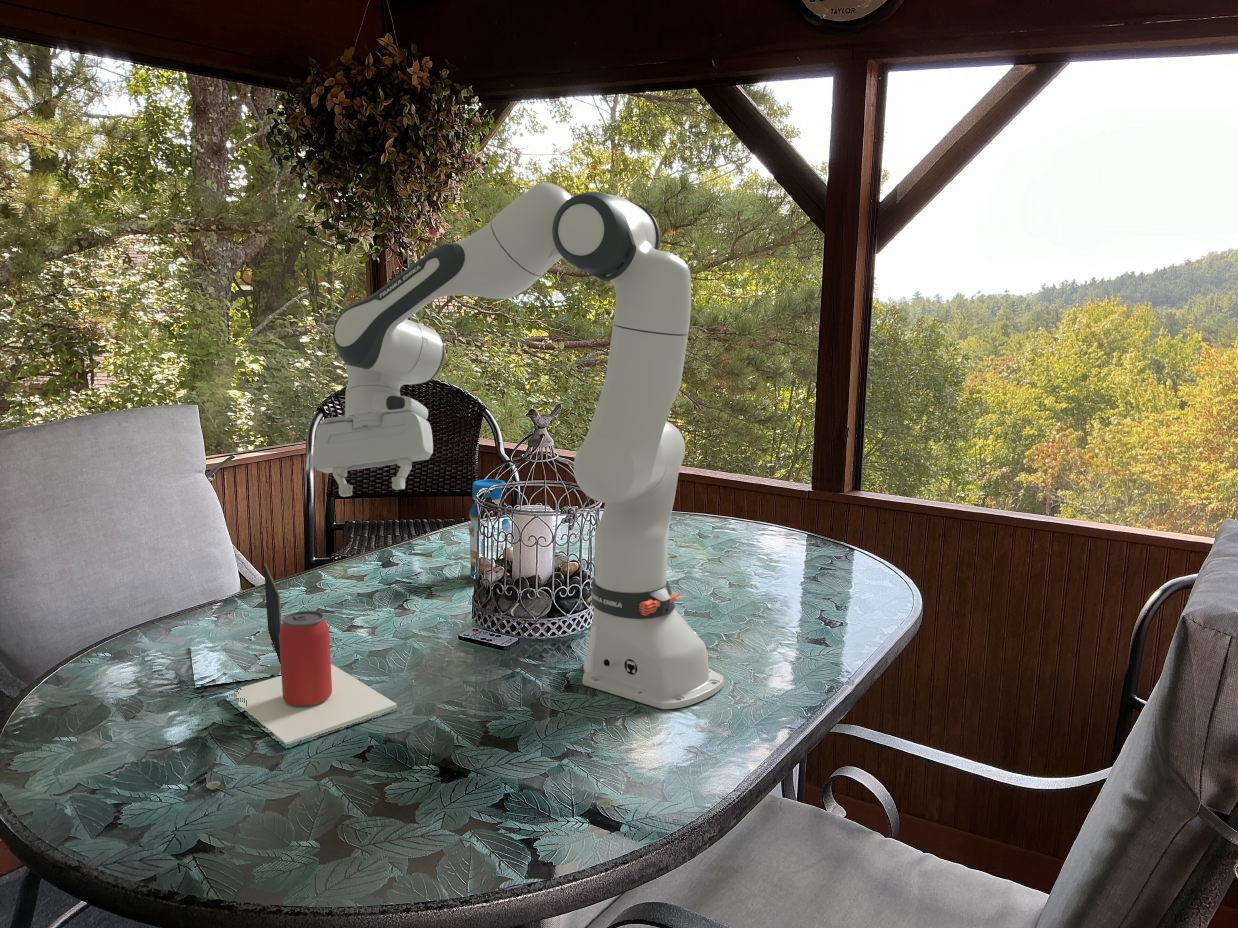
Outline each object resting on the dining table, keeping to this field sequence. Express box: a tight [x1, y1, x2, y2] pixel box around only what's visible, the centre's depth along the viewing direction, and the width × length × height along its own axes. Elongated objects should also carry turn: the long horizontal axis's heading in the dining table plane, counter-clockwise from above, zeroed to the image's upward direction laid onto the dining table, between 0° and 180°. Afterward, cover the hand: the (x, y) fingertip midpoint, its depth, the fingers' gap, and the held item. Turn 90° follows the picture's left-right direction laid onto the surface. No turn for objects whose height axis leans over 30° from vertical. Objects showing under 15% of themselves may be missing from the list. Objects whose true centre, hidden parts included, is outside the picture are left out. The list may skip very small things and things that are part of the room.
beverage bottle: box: [468, 478, 512, 579], centre depth 183 cm, size 8×8×20 cm
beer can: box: [279, 610, 332, 707], centre depth 125 cm, size 7×7×12 cm
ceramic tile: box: [226, 663, 398, 745], centre depth 126 cm, size 20×16×1 cm
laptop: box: [263, 563, 283, 664], centre depth 140 cm, size 18×12×13 cm
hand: (371, 492), depth 145 cm, fingers open, 8 cm apart
